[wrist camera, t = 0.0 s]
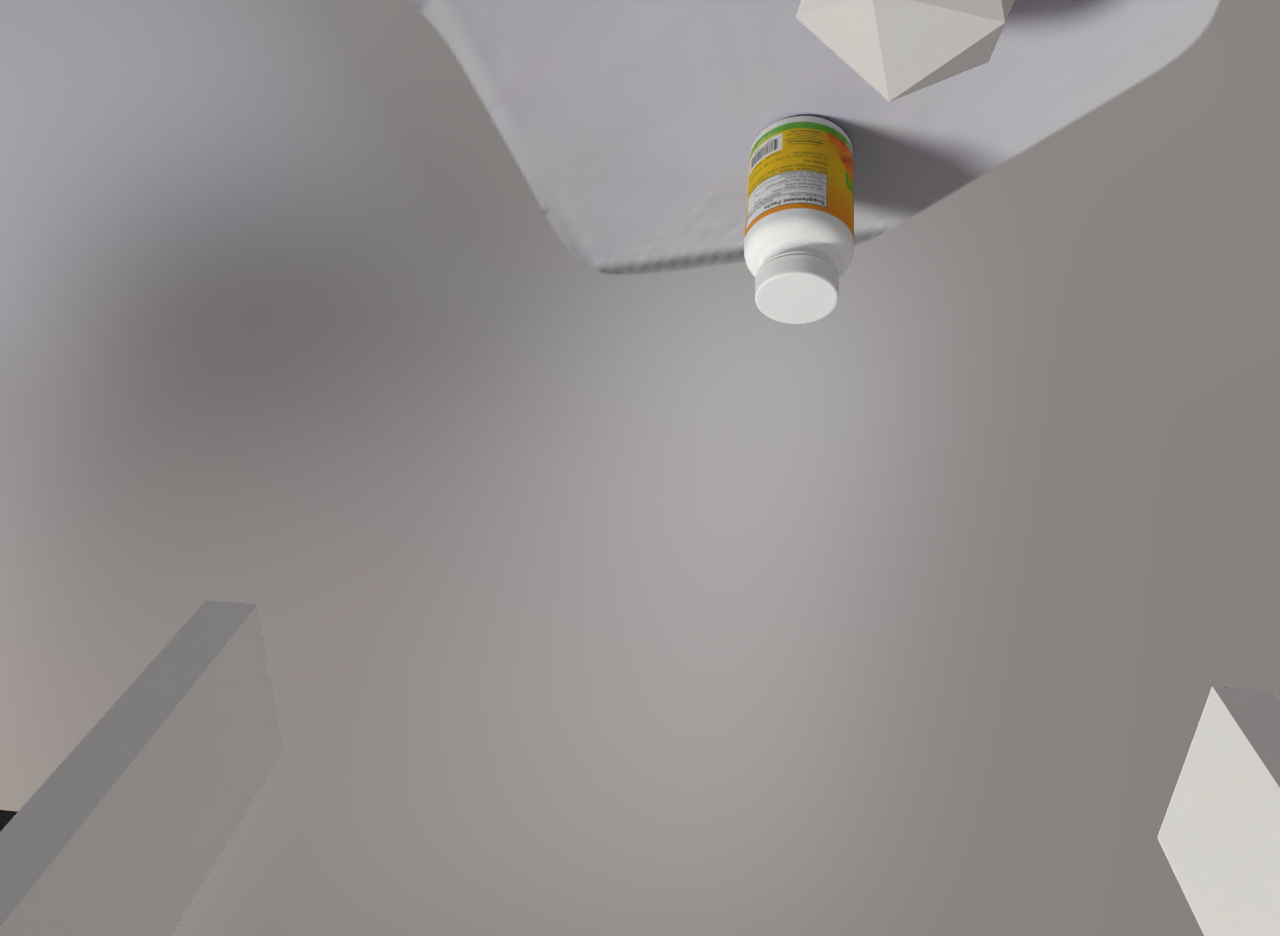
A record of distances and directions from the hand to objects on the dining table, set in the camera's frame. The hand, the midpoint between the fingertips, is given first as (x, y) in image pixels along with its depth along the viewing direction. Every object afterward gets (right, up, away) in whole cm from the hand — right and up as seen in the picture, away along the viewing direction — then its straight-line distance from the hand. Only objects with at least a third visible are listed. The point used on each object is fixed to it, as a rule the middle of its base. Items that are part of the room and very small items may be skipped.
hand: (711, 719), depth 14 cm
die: (+10, +26, +26) cm, 38 cm away
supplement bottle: (+7, +20, +38) cm, 44 cm away
